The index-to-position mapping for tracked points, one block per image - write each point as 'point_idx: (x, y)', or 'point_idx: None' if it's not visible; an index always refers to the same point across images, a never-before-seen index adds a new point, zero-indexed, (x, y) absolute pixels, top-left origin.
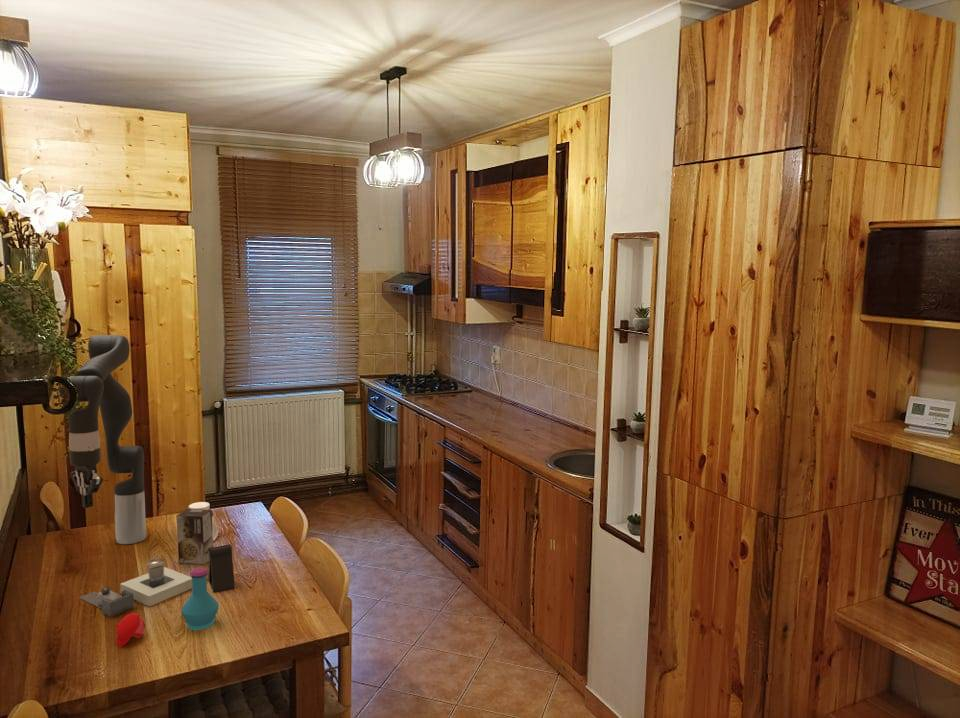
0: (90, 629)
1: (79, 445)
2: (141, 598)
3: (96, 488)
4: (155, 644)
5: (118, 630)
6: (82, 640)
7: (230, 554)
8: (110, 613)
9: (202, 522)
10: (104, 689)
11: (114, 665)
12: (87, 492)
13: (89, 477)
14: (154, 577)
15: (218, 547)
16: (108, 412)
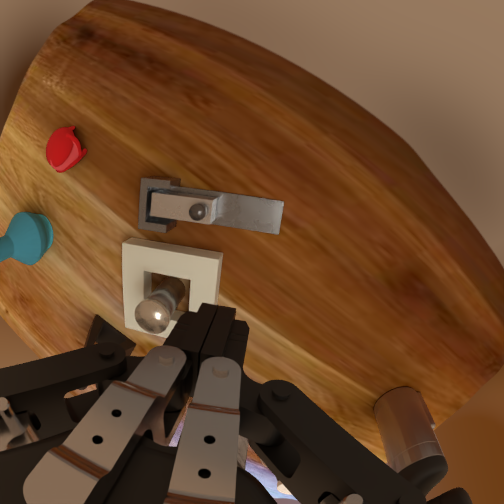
0: (146, 129)
1: None
2: (150, 243)
3: (83, 402)
4: (43, 160)
5: (61, 129)
6: (127, 102)
7: None
8: (150, 176)
9: (177, 445)
10: (30, 71)
11: (48, 99)
12: (101, 349)
13: (15, 447)
14: (153, 292)
15: None
16: None
